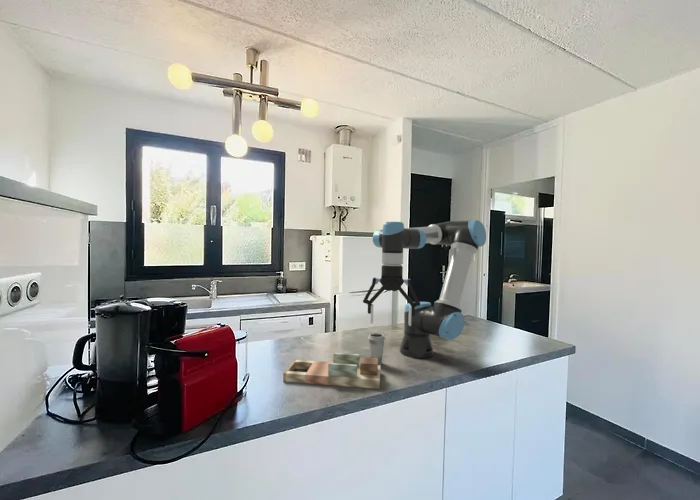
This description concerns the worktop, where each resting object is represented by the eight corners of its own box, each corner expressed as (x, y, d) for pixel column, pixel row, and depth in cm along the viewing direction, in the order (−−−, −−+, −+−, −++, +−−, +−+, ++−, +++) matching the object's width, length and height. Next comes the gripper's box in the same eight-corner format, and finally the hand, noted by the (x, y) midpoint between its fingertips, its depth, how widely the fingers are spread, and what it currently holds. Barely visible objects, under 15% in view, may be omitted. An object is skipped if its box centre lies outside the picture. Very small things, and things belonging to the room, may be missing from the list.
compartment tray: (380, 373, 119) (380, 355, 119) (379, 388, 106) (379, 368, 106) (294, 366, 123) (294, 349, 123) (283, 381, 110) (283, 361, 110)
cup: (382, 360, 132) (382, 332, 132) (386, 366, 125) (387, 337, 125) (365, 361, 131) (366, 332, 130) (369, 367, 124) (370, 337, 124)
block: (377, 368, 115) (377, 358, 115) (377, 375, 109) (377, 364, 109) (361, 367, 116) (361, 357, 116) (360, 374, 110) (360, 363, 110)
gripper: (426, 265, 113) (424, 323, 114) (358, 263, 117) (357, 319, 117) (429, 266, 106) (427, 328, 106) (356, 264, 109) (355, 324, 110)
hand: (390, 323), depth 112 cm, fingers open, 13 cm apart
